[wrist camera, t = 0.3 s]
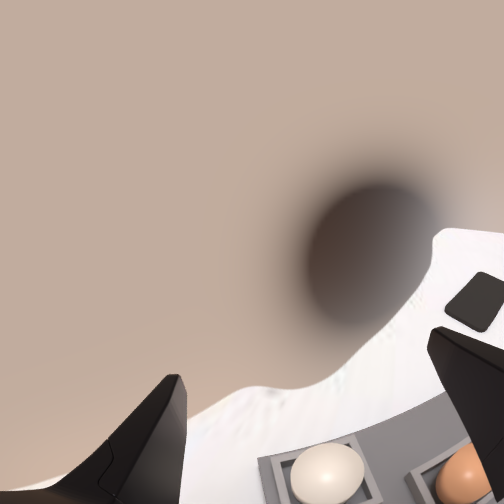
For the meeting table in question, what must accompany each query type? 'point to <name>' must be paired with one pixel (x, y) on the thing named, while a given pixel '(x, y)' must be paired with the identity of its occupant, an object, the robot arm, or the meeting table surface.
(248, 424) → the meeting table surface
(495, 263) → the meeting table surface
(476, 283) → the phone
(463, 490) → the terracotta button
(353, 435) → the control board
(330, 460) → the offwhite button
